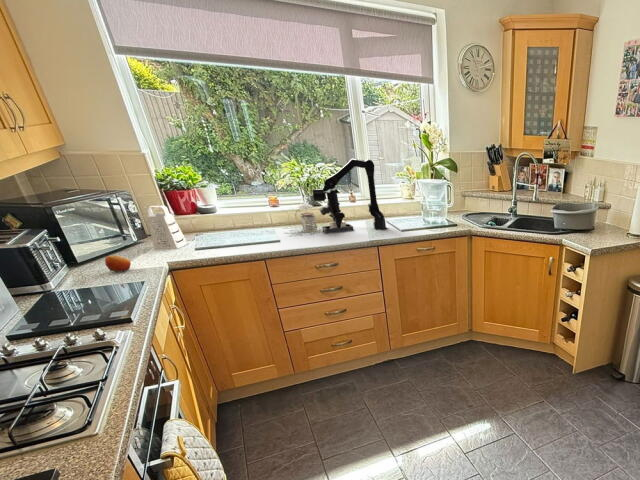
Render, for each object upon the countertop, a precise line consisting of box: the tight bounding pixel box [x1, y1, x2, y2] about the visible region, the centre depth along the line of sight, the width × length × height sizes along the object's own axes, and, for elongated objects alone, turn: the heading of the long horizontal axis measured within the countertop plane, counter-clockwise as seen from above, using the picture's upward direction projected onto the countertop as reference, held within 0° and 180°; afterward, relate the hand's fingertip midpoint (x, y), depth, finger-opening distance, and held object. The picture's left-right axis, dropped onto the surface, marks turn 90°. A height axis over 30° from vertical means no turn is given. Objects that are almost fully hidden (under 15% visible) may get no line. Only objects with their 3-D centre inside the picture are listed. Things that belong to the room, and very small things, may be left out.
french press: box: [294, 186, 320, 233], centre depth 246 cm, size 10×12×25 cm
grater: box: [146, 205, 188, 250], centre depth 210 cm, size 10×10×20 cm
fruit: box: [104, 254, 132, 275], centre depth 177 cm, size 8×8×8 cm
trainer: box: [328, 220, 347, 229], centre depth 252 cm, size 9×4×4 cm, turn 125°
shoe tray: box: [321, 223, 354, 234], centre depth 253 cm, size 16×8×2 cm, turn 125°
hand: (337, 227), depth 252 cm, fingers closed on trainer, 4 cm apart
